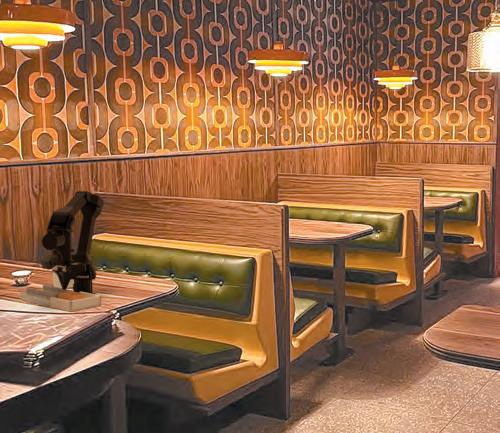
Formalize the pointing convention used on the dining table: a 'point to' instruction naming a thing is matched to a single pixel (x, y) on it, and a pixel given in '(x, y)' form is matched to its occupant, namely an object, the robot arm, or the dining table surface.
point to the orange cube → (75, 296)
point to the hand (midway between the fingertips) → (64, 289)
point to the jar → (57, 283)
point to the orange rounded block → (65, 294)
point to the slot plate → (42, 294)
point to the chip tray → (76, 302)
